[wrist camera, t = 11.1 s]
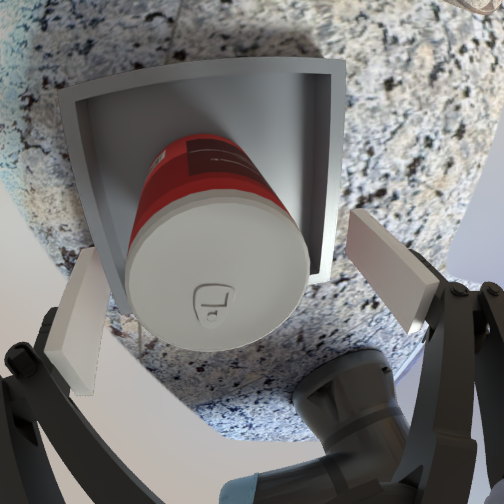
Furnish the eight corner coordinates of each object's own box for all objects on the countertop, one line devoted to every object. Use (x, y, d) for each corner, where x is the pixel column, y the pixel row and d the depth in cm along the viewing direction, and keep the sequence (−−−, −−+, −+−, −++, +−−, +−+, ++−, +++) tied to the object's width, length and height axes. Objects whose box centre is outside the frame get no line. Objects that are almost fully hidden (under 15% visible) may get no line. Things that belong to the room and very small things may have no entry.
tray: (316, 260, 28) (329, 280, 25) (124, 290, 25) (121, 315, 23) (325, 59, 18) (345, 60, 16) (73, 86, 16) (57, 90, 13)
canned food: (158, 244, 23) (155, 364, 14) (134, 142, 18) (94, 219, 10) (257, 226, 24) (307, 334, 15) (250, 123, 19) (315, 181, 11)
